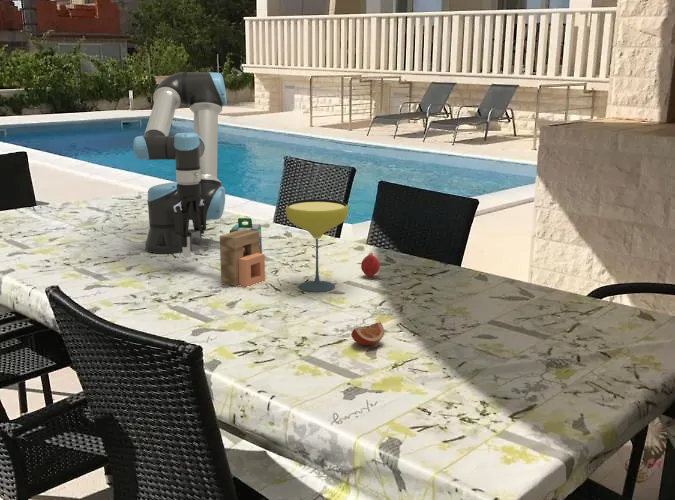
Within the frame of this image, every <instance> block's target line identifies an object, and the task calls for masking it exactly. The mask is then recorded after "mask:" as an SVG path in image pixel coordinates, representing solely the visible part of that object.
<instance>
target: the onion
mask: <svg viewBox="0 0 675 500" xmlns="http://www.w3.org/2000/svg"><path fill="white" fill-rule="evenodd" d="M373 253H374V252H372V251H369V253H368V255H367V256H365V257H364V258H363V259H362V261H361V265H360V268H361V271H362V273H363V274H364V275H366V276H367V277H368V278H372V277H374V276H375V275H376V274H378V272H379V270H380V266H381V265H380V260H378V258H377V257H376V256H375V255H374V254H373Z"/></svg>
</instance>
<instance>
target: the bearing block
mask: <svg viewBox="0 0 675 500" xmlns="http://www.w3.org/2000/svg"><path fill="white" fill-rule="evenodd" d="M219 241H220V250H219V256H220V282H221V284H222V283H225V284H224V285H226V284H229V285H228V286H231V285H234V286H233V287H235V286H237V287H239V286H238V285H239V260H238V259H239V258H242V257H246V256H249V255H252V254H255V253H259V231H253V230H247V229H242V230H239V231H235V232H231V233H230V232H229V233H228V232H227V233H225V234H221V235H219ZM243 246H246V248H247V251H246V253H245V254H243ZM251 275H253V265H251Z"/></svg>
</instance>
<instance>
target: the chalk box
mask: <svg viewBox="0 0 675 500" xmlns="http://www.w3.org/2000/svg"><path fill="white" fill-rule="evenodd" d="M243 222H247V223H246V224H245V223H243ZM242 229H247V230H253V231H259V253H260V254H263V241H262V240H263V238H262V236H263V235H262V225H261V224H259V223H258V224H256V223H254V224H253V220H252V218H251V217H250V218H249V217H239V218H237V224H235V225H233V226H232V228H231V229H230V230H229V233H231V232H235V231H239V230H242Z"/></svg>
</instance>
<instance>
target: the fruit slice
mask: <svg viewBox="0 0 675 500" xmlns="http://www.w3.org/2000/svg"><path fill="white" fill-rule="evenodd" d="M350 335H351V338H352V340H353V341H354V342H355V343H356V344H358V345H361V346H373V345H374V344H377V343H379V342H380V341H381V340H382V339H383V337H384V335H385V328H384V326H383V324H382V322H381V321H379V322H375V323H372V324H370V325H363V326H360V327H356V328H354V329H353V330H352V331H351V334H350Z"/></svg>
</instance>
